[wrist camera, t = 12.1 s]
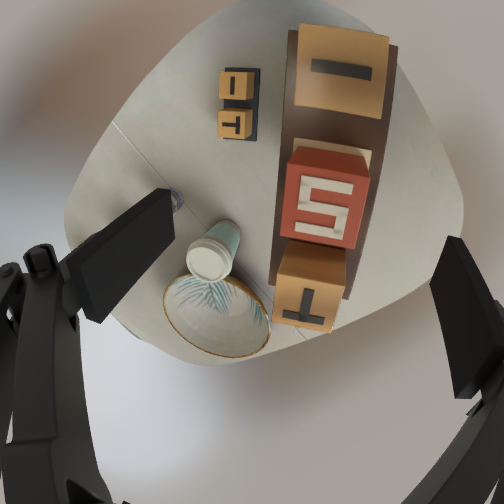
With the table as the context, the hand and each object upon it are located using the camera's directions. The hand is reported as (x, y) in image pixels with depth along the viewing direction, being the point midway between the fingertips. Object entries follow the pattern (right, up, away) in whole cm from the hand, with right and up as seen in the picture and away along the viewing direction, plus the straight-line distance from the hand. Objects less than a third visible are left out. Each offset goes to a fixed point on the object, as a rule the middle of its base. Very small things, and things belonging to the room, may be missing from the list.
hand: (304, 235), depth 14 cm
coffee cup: (-7, +3, +50) cm, 51 cm away
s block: (+3, +4, +7) cm, 8 cm away
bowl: (-8, -11, +60) cm, 62 cm away
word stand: (+11, +21, +33) cm, 41 cm away
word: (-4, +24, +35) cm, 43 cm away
